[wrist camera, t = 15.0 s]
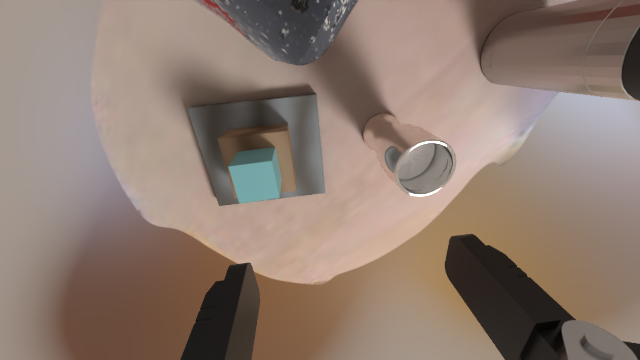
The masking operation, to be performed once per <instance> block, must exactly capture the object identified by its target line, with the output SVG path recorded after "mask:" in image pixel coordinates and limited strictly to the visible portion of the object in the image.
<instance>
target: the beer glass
mask: <svg viewBox="0 0 640 360" xmlns="http://www.w3.org/2000/svg"><path fill="white" fill-rule="evenodd" d="M363 138H364V141H365V143H366V145H367V146H368V147H369V148H370V149H372V150H374V151H375V153H376V156H377V159H378V161H379V163H380V165H381V167H382V169H383V170H384V172H385V173H386V174H387V175H388V177H389V178H390V179H391V180H392V181H393V182H394V183H395V184H396V185H398V186H399V187H400V189H401V190H402V191H404V192H405V193H407V194H409V195H412V196H426V195H430V194H432V193H434V192H436V191H438V190H440V189H441V188H442V187H444V186H445V185H446V184H447V183H448V181H449V180H450V179H451V177H452V175H453V173H454V171H455V167H456V156H455V153H454V151H453V149H452V148H451V146H450V145H448V144H447V143H445V142H444V141H442V140H441V139H440V138H438V137H437V136H435V135H434V134H432V133H431V132H429V131H427V130H426V129H423V128H421V127H419V126H415V125H411V124H405V123H400V122H399V121H398V120H397V119H396V118H395V117H394V116H392V115H390V114H385V113H383V114H378V115H376V116H374V117H372V118H371V119H370V120H369V121H368V122H367V123H366V125H365V127H364V131H363Z"/></svg>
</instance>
